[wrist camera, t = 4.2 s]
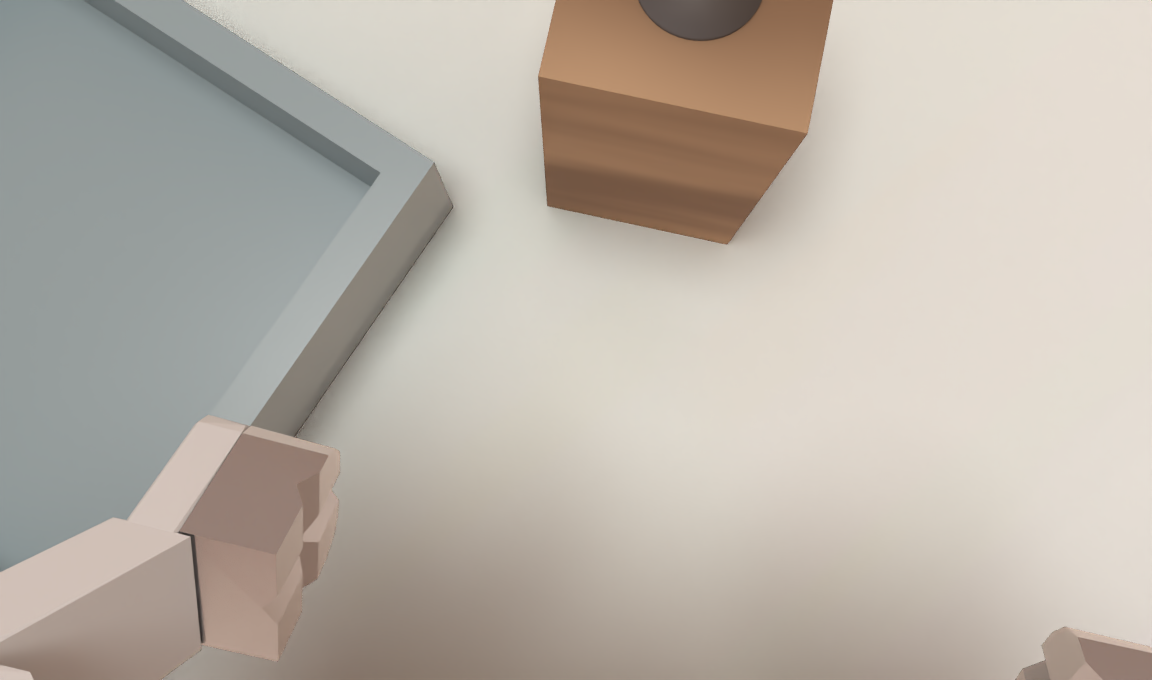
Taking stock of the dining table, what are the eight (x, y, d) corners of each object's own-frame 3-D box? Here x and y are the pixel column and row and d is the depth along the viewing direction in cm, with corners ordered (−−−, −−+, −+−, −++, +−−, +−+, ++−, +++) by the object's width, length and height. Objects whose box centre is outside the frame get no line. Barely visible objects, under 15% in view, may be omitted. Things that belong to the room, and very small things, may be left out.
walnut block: (727, 244, 24) (808, 131, 16) (547, 206, 24) (537, 73, 16) (761, 72, 24) (857, -122, 16) (586, 35, 25) (595, -176, 17)
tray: (118, 691, 22) (35, 732, 19) (-347, 365, 23) (-507, 347, 20) (452, 206, 24) (434, 162, 20) (7, -82, 25) (-84, -172, 21)
